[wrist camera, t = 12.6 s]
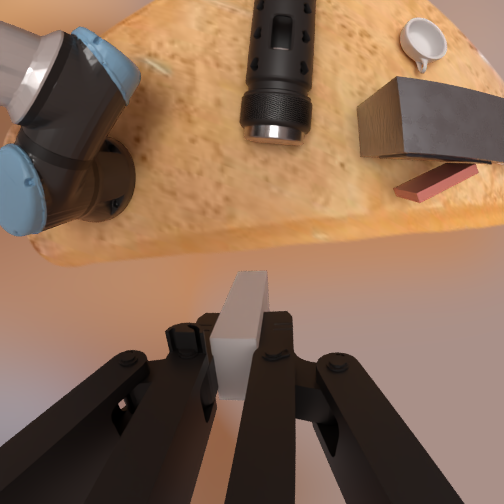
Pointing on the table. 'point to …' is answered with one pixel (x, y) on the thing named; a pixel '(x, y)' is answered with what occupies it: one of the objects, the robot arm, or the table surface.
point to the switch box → (431, 123)
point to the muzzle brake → (279, 72)
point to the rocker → (435, 181)
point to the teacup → (423, 42)
